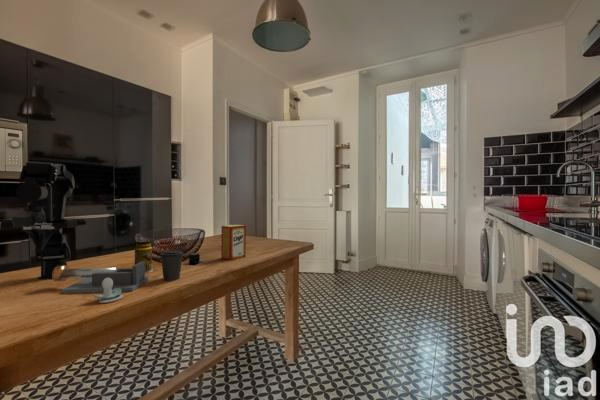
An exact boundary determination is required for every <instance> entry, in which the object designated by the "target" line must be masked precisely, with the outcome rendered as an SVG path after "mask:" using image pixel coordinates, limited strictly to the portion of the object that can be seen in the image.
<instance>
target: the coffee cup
mask: <svg viewBox="0 0 600 400" xmlns="http://www.w3.org/2000/svg"><path fill="white" fill-rule="evenodd" d="M184 254H185V253H184V252H183V251H182V250H181V251H180V250H176V249H171V250H166V251H164V252H163V251H162V252H160V254H159V257H160V258H161V259H160V260H161V270H162V279H163V281H167V282H171V281H177V280H179V279H180V278H181V272H182V271H181V270H182V263H183V261H182V260H183V255H184Z"/></svg>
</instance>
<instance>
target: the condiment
mask: <svg viewBox="0 0 600 400" xmlns="http://www.w3.org/2000/svg"><path fill="white" fill-rule="evenodd" d="M141 261H145V274H146V273H152V272H154V269H153V247H152V241H151V240H150V239H143V240H142V239H141V240H137V241H135V249H134V265H135V264H137V263H139V262H141Z"/></svg>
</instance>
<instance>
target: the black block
mask: <svg viewBox="0 0 600 400" xmlns="http://www.w3.org/2000/svg"><path fill="white" fill-rule="evenodd" d="M200 259H201V258H200V252H198V253H197V252H193V253H191V254H189V256H188V262H187V263H185V264H183V266H197V265H199V264H202V263H203V262H204V260H200Z"/></svg>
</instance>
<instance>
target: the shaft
mask: <svg viewBox="0 0 600 400" xmlns="http://www.w3.org/2000/svg"><path fill="white" fill-rule="evenodd" d="M118 268H119V267H87V268H86V267H81V268H80V267H79V268H78V267H77V268H74V267H73V268H69V266H68V265H67V266H66V265H64V266H56V267H55V268H54V270H53V273H52V278H51V279H52V280H53V281H54V282H66V281H67V280H68V279H80V278H81V279H85V278H92V274H93V273H101V272H118Z"/></svg>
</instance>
